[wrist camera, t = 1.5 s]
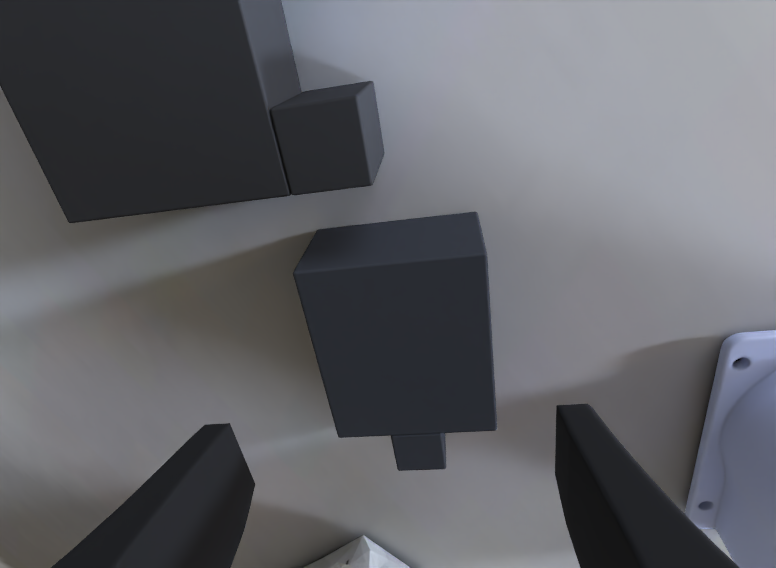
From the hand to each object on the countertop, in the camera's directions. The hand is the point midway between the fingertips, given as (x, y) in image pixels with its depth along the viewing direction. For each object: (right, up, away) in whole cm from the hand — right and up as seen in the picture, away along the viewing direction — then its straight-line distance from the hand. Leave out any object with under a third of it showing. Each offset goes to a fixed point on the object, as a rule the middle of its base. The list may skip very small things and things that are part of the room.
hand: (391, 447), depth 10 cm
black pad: (-5, +10, +2) cm, 12 cm away
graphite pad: (+1, +3, +5) cm, 6 cm away
